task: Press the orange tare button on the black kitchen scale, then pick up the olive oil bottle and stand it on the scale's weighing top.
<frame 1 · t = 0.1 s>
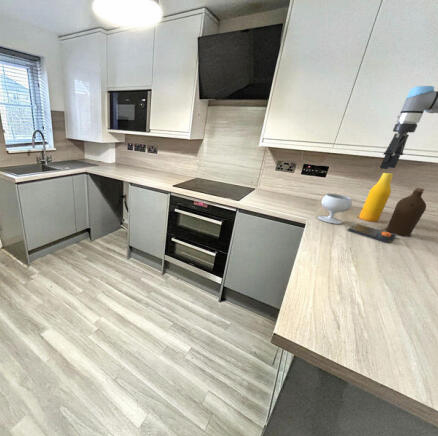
hand: (387, 168, 120), 34 cm above the worktop, tool pointing down, fingers open, 13 cm apart
chalice: (329, 220, 141), on the worktop
scale: (370, 234, 125), on the worktop
tare button: (386, 234, 117), point 3 cm above the worktop, slide at 0.1 cm
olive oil: (397, 233, 129), on the worktop
beer bottle: (367, 219, 148), on the worktop
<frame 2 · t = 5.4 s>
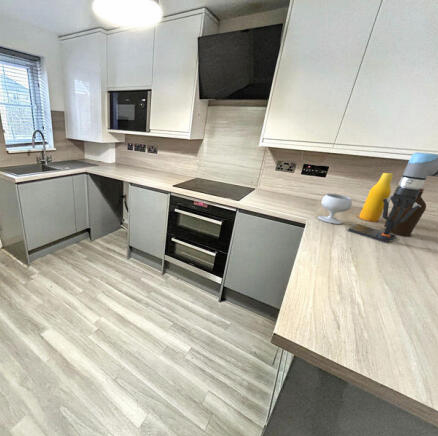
hand: (386, 233, 117), 4 cm above the worktop, tool pointing down, fingers closed
tare button: (385, 235, 117), point 3 cm above the worktop, slide at -0.6 cm, touching gripper
everything else where it was.
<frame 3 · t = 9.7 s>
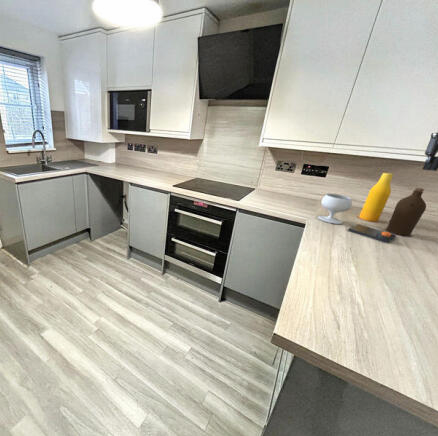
hand: (429, 169, 116), 35 cm above the worktop, tool pointing down, fingers open, 3 cm apart
tare button: (386, 234, 117), point 3 cm above the worktop, slide at 0.1 cm
everything else where it was.
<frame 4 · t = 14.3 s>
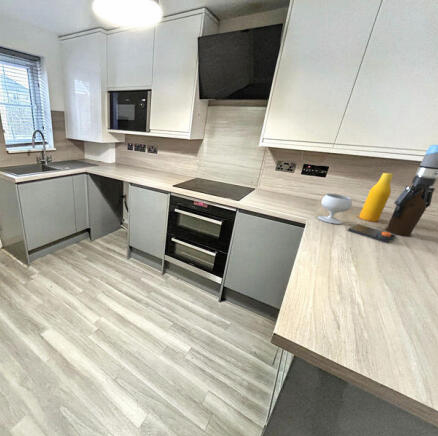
hand: (405, 217, 126), 9 cm above the worktop, tool pointing down, fingers closed on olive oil, 11 cm apart
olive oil: (397, 233, 129), on the worktop, touching gripper
everything else where it was.
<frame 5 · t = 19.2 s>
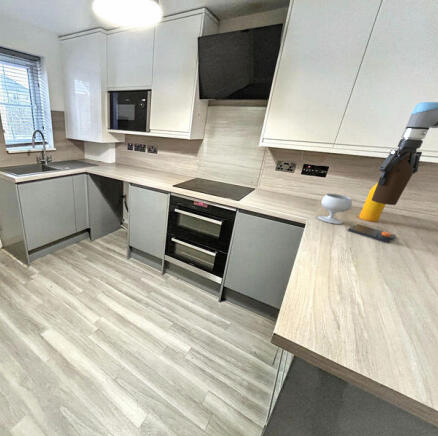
hand: (391, 185, 118), 26 cm above the worktop, tool pointing down, fingers closed on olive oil, 11 cm apart
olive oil: (383, 202, 121), point 17 cm above the worktop, touching gripper
everything else where it was.
when the fingers open (10 cm above the worktop, at t = 23.9 s): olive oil stays where it is, resting on scale.
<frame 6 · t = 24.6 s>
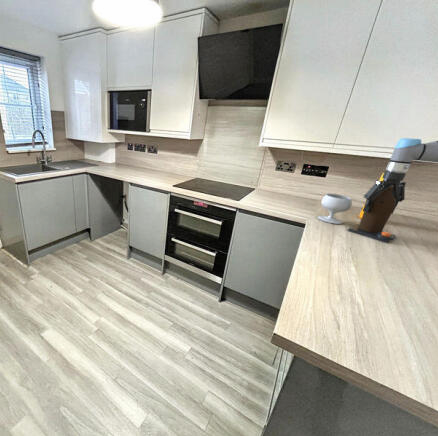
hand: (377, 212, 123), 12 cm above the worktop, tool pointing down, fingers open, 13 cm apart
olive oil: (369, 230, 126), point 1 cm above the worktop, touching scale
everything else where it was.
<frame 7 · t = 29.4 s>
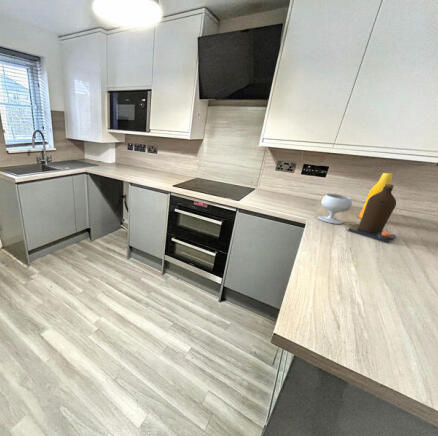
nothing on the worktop moved.
at the end: tare button pushed in 0.8 cm at the most during the clip, back to where it started at the end; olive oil inside the target area on the scale (2.1 cm from its centre), point 1.2 cm above the scale's base; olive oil touching scale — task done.
